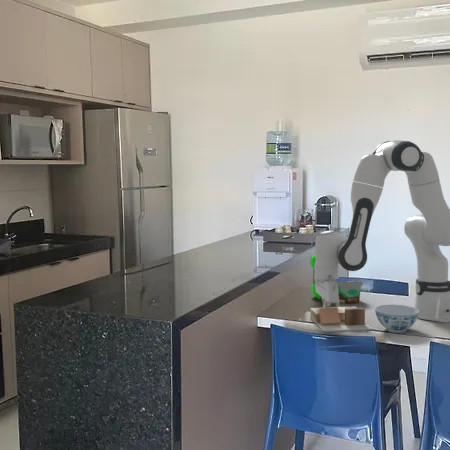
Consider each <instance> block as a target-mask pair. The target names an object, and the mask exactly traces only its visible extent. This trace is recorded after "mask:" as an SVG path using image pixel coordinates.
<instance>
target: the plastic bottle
mask: <svg viewBox="0 0 450 450" xmlns="http://www.w3.org/2000/svg"><path fill="white" fill-rule="evenodd" d="M309 262H310V266H311V267H312V270H313V269H315V262H316V257H315V253H314V254H313V255H311V257H310V259H309ZM314 276H315V275H314V274H313V273H312V284H311V287H310V292H311V294H312V295H313V296H314V297H315V298H316V299H317V300H322V297H321V296H320V295H319V294H318V293H317V292H316V290H315V281H314Z"/></svg>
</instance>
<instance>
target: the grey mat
mask: <svg viewBox="0 0 450 450" xmlns="http://www.w3.org/2000/svg"><path fill="white" fill-rule="evenodd" d="M315 324H316V326H317V327H318V328H320V330H321V331H322V332H324V333H327V332H328V333H330V332H331V333H332V332H353V331H354V332H355V331H356V332H358V331H373V330H374V329H373V327H372V326H370V325H369V324H368V323H366V322H365V325H349V326H346V325H345V322H340V324H333V325H321V323H315Z"/></svg>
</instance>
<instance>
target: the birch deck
mask: <svg viewBox="0 0 450 450" xmlns="http://www.w3.org/2000/svg"><path fill="white" fill-rule="evenodd" d="M334 307H335V306H331V307H330V308H334ZM337 307H338V312H339V317H340V322H345V308H358V307H357V306H356V305H355V306H337ZM319 308H320V307H310V309H309V311H310V312H309V313H310V315H309V316H310V317H309V318H310V319H311V320H312V321H313V323H314V324H316V323H321V322H320V317H319V312H318V310H319Z"/></svg>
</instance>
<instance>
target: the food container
mask: <svg viewBox="0 0 450 450" xmlns="http://www.w3.org/2000/svg"><path fill="white" fill-rule="evenodd" d="M336 282H337V284H338V295H339V300H338V303H339V302H340V303H339V304H343V303H345V304H347V305H353V304H358V303H360V300H361V299H360V298H361V289H362V286H363V280H362V279H361V278H358V279H357V280H346V281H341V280H337V281H336ZM345 304H344V305H345Z"/></svg>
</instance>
